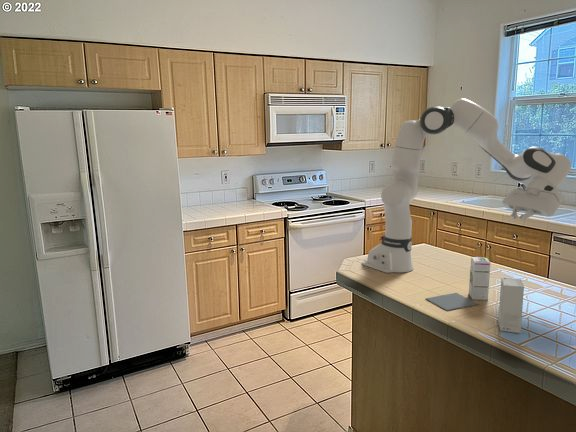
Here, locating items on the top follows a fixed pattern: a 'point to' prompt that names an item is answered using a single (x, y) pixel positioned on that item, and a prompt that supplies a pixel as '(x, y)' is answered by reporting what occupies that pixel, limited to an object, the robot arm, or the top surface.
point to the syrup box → (479, 278)
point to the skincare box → (511, 305)
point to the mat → (452, 301)
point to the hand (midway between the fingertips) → (517, 218)
